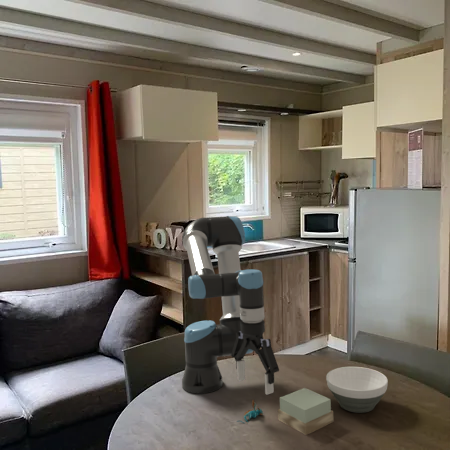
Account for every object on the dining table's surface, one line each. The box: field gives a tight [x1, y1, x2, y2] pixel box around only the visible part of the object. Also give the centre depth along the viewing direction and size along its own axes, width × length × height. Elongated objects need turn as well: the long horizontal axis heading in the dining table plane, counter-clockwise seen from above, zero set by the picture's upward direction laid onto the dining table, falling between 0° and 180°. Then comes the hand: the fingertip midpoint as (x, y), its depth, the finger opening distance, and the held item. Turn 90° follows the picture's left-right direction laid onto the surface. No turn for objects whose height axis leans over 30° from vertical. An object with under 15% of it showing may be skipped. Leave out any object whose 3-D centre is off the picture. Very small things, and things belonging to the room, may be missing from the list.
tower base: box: [277, 408, 334, 436], centre depth 151 cm, size 12×12×4 cm
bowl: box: [325, 366, 389, 414], centre depth 159 cm, size 20×20×10 cm
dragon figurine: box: [236, 399, 264, 424], centre depth 154 cm, size 6×7×8 cm
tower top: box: [279, 387, 332, 423], centre depth 150 cm, size 11×11×4 cm
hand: (255, 386), depth 152 cm, fingers open, 13 cm apart
